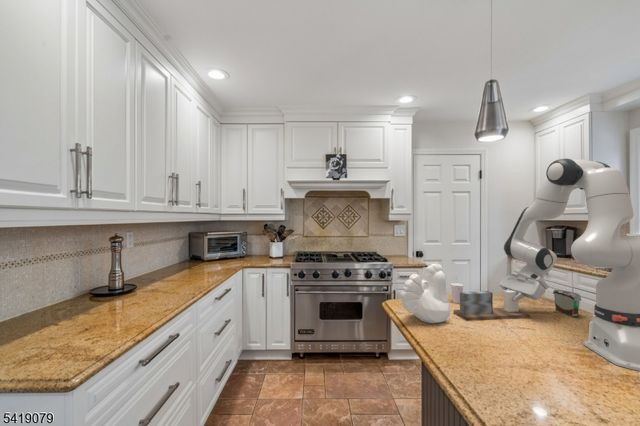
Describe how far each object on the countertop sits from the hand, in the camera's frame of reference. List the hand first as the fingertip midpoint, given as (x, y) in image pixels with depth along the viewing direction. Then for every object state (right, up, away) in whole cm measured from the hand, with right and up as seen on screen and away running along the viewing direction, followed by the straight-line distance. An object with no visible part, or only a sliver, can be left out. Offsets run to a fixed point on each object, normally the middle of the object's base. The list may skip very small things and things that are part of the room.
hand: (509, 299), depth 131 cm
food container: (+29, -7, 0) cm, 30 cm away
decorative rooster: (-44, -7, -7) cm, 45 cm away
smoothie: (-16, -8, +19) cm, 25 cm away
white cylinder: (+1, -5, 0) cm, 5 cm away
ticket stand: (-10, -7, -1) cm, 12 cm away
